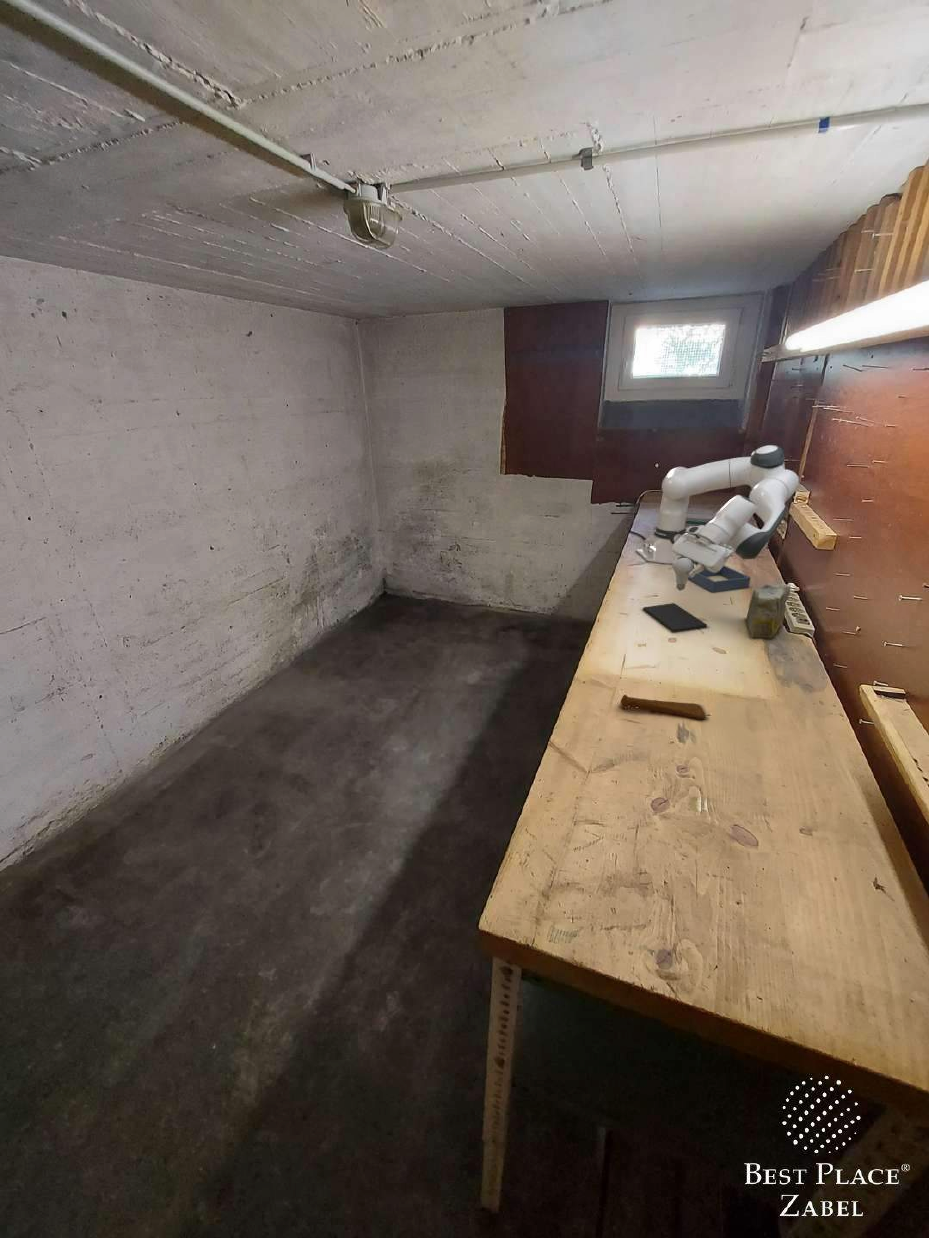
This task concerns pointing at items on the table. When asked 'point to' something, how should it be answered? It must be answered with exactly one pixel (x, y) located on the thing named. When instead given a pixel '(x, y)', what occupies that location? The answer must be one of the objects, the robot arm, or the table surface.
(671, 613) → the mat
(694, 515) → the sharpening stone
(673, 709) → the primitive tool
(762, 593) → the stone block
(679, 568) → the lightbulb
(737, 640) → the table surface
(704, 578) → the blue square tray
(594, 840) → the table surface
